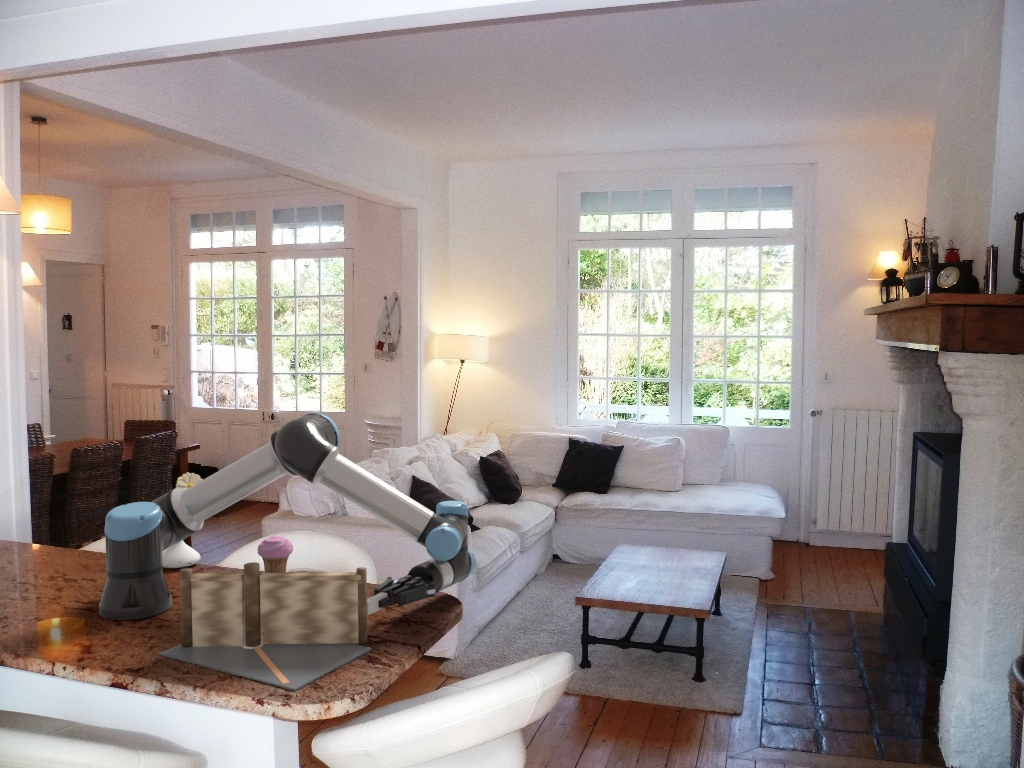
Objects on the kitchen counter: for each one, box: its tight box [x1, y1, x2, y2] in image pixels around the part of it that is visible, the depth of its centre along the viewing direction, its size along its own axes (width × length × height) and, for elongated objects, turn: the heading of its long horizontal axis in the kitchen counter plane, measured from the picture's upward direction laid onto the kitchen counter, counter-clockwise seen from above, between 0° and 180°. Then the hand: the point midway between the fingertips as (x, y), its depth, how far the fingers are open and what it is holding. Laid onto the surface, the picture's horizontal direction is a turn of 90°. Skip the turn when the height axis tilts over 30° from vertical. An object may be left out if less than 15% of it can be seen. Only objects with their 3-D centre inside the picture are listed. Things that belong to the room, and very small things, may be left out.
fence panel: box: [260, 566, 368, 645], centre depth 174 cm, size 21×2×15 cm, turn 92°
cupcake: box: [257, 535, 294, 573], centre depth 224 cm, size 9×9×10 cm
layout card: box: [158, 643, 373, 692], centre depth 171 cm, size 35×22×1 cm, turn 62°
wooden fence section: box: [179, 561, 261, 648], centre depth 173 cm, size 16×3×16 cm, turn 92°
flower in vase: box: [162, 471, 204, 569], centre depth 231 cm, size 13×11×25 cm
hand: (365, 607), depth 177 cm, fingers closed
